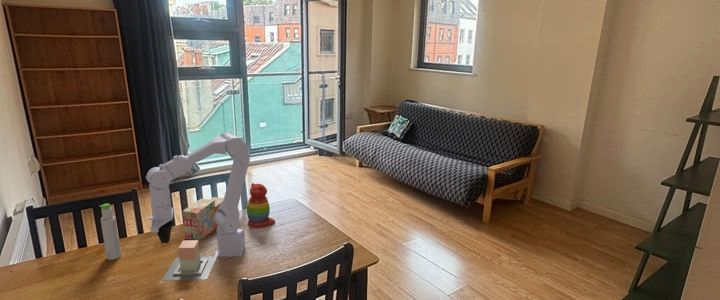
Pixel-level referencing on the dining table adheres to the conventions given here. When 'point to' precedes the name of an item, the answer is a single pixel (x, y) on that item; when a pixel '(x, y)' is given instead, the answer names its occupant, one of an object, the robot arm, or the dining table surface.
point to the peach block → (188, 250)
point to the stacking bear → (258, 207)
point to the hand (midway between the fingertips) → (165, 242)
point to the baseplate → (200, 274)
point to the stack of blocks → (200, 218)
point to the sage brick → (190, 264)
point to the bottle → (110, 233)
